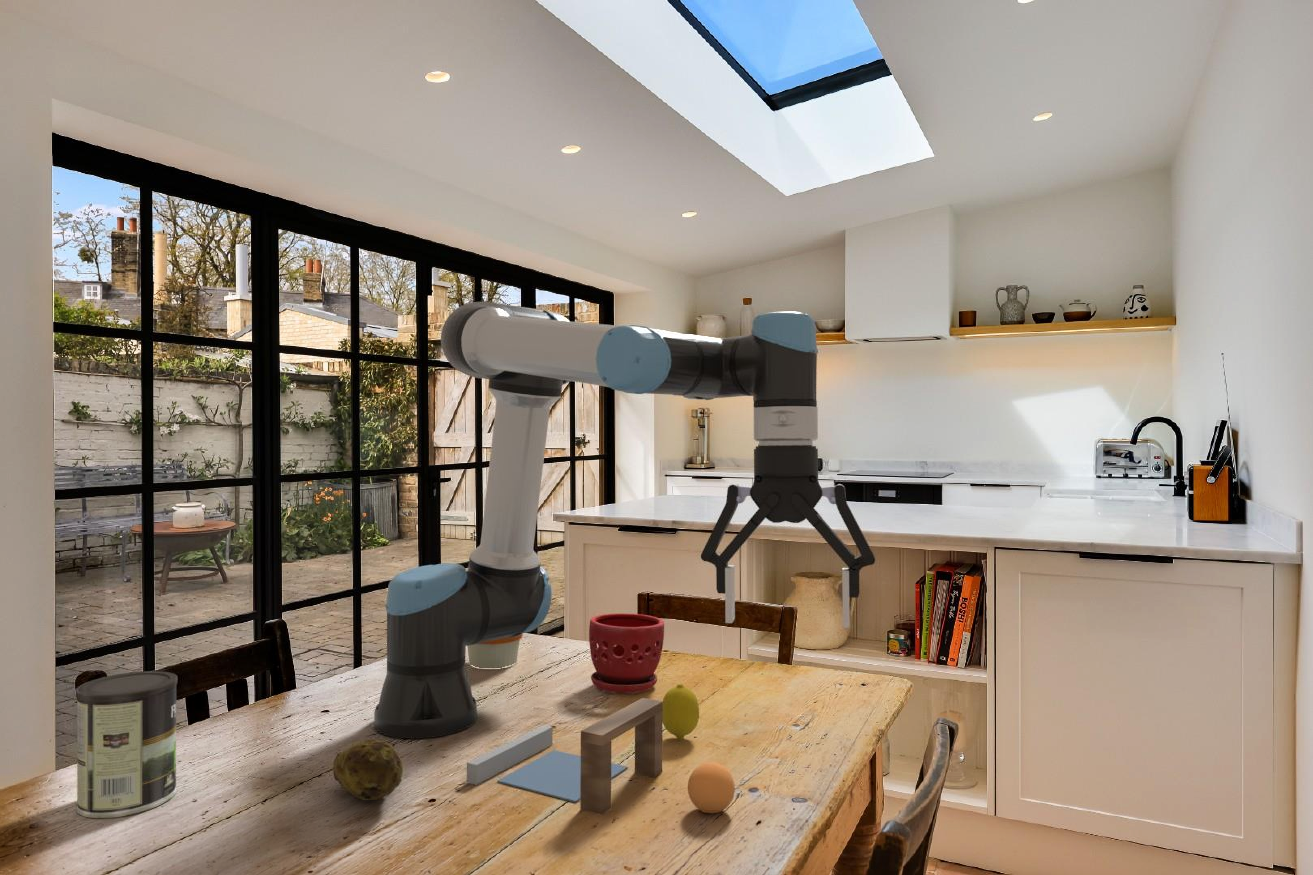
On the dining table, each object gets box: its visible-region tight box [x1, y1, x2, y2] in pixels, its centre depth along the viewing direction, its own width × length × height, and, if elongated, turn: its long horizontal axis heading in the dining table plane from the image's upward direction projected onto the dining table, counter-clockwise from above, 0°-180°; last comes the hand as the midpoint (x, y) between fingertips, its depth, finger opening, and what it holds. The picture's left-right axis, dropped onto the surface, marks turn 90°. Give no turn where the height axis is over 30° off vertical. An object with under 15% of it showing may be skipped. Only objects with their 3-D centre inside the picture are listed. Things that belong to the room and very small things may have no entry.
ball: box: [687, 761, 736, 814], centre depth 98 cm, size 6×6×6 cm
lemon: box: [662, 683, 700, 740], centre depth 121 cm, size 6×6×8 cm
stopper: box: [466, 724, 554, 786], centre depth 112 cm, size 2×16×2 cm, turn 151°
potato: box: [332, 739, 404, 801], centre depth 100 cm, size 8×13×8 cm, turn 16°
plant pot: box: [588, 613, 665, 695], centre depth 147 cm, size 13×13×12 cm
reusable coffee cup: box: [466, 633, 524, 668], centre depth 161 cm, size 13×13×15 cm
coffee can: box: [75, 670, 179, 819], centre depth 100 cm, size 10×10×14 cm
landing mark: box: [497, 749, 629, 804], centre depth 108 cm, size 12×12×1 cm
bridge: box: [579, 697, 663, 816], centre depth 104 cm, size 3×14×9 cm, turn 151°
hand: (787, 623), depth 99 cm, fingers open, 13 cm apart
